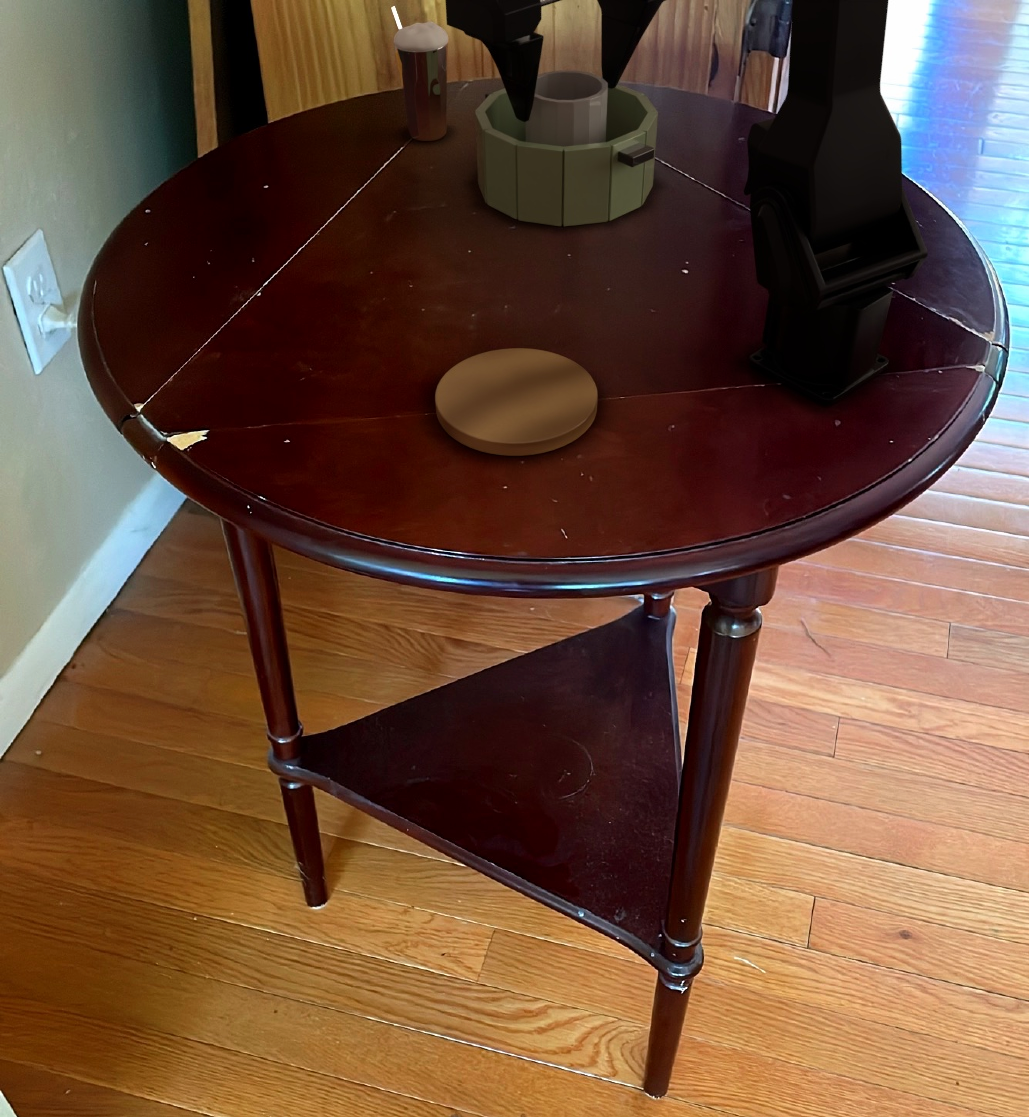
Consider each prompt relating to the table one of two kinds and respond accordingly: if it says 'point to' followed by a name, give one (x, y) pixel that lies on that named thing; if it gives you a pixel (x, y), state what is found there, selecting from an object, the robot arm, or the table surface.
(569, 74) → the small pot
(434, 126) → the milkshake
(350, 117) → the table surface
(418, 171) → the table surface
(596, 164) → the big pot
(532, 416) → the disc
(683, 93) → the table surface
